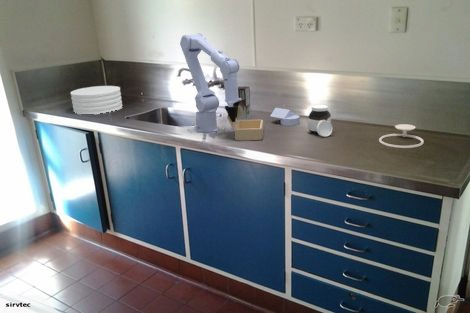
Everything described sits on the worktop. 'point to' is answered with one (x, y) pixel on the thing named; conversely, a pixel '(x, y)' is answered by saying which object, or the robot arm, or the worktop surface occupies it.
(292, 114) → the wedge on round base
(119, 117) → the worktop surface
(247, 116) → the coffee box
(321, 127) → the spread jar
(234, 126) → the lid flap
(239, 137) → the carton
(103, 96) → the plate stack
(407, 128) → the hand towel holder
